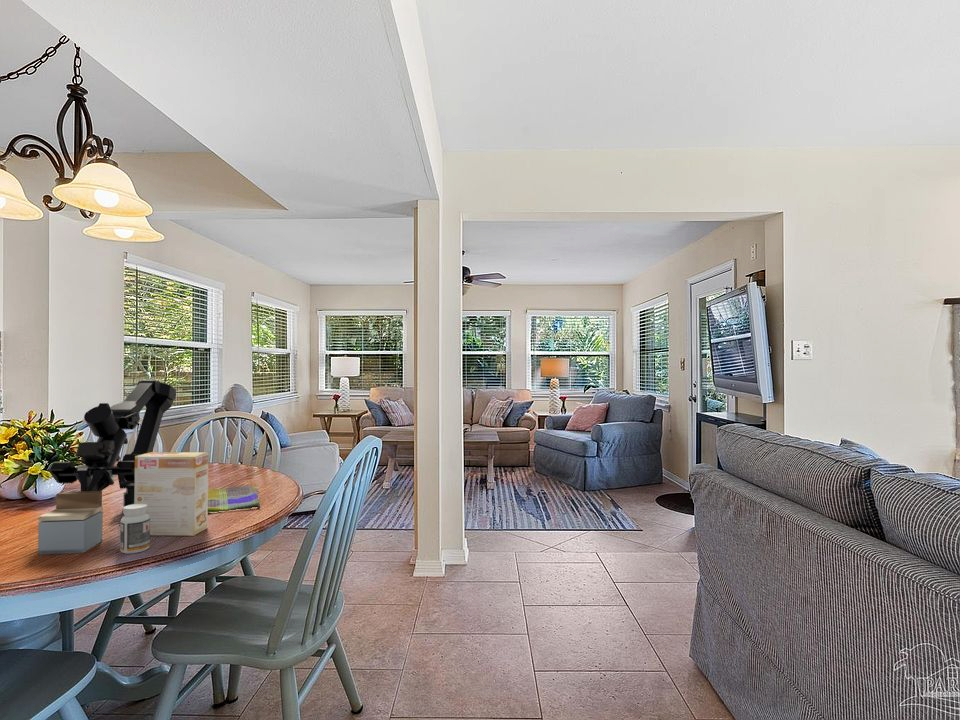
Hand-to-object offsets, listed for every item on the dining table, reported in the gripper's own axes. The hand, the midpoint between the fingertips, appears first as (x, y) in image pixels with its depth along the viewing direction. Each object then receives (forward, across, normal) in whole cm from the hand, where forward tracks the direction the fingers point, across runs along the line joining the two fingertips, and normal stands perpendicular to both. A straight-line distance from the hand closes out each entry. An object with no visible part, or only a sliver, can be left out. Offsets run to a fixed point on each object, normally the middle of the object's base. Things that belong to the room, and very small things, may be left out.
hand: (83, 502), depth 128 cm
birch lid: (+5, 0, -2) cm, 5 cm away
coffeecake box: (+3, +18, +10) cm, 21 cm away
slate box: (+10, 0, +3) cm, 10 cm away
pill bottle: (+12, +15, +1) cm, 19 cm away
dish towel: (-17, +23, +31) cm, 42 cm away
